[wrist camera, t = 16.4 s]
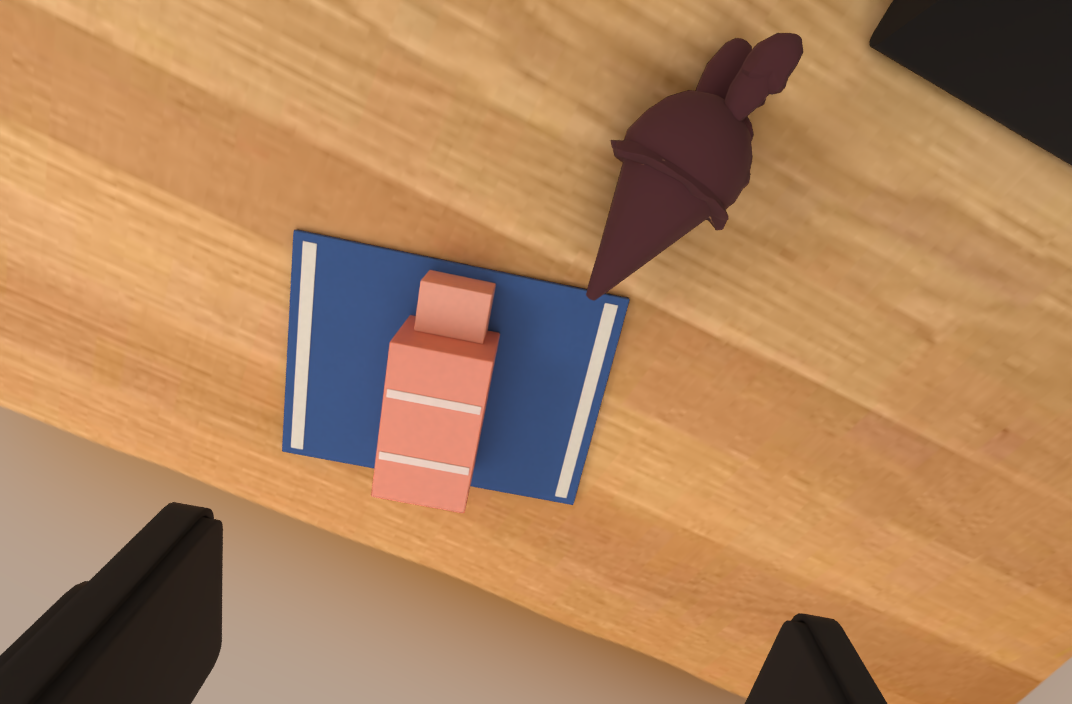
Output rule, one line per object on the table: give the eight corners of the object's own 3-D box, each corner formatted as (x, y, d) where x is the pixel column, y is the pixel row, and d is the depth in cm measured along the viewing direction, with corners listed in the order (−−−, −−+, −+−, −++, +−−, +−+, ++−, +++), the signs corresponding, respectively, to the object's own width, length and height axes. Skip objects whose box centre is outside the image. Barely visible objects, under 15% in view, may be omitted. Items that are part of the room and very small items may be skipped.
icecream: (667, 355, 29) (868, 86, 26) (552, 286, 26) (763, -31, 22) (617, 308, 35) (774, 85, 32) (519, 248, 32) (681, -7, 29)
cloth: (296, 229, 33) (292, 230, 33) (629, 297, 35) (630, 299, 34) (284, 448, 39) (281, 452, 38) (572, 501, 40) (573, 505, 39)
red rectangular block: (416, 266, 34) (395, 287, 29) (509, 285, 34) (503, 309, 29) (391, 454, 38) (370, 497, 34) (473, 469, 39) (464, 514, 34)
